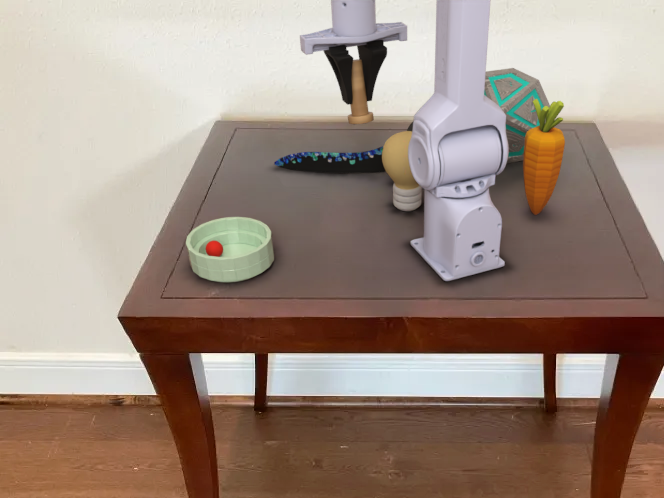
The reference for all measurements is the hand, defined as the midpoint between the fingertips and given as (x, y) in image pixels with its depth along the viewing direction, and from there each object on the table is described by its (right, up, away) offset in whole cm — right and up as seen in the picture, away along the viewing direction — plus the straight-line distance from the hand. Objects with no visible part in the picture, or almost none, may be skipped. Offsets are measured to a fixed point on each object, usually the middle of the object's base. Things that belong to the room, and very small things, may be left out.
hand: (357, 100), depth 102 cm
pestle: (0, -3, +1) cm, 3 cm away
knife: (+3, -10, +2) cm, 11 cm away
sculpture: (+24, +3, +18) cm, 30 cm away
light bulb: (+7, -16, -5) cm, 18 cm away
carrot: (+24, -18, -7) cm, 30 cm away
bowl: (-14, -25, -16) cm, 33 cm away
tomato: (-16, -23, -16) cm, 33 cm away
